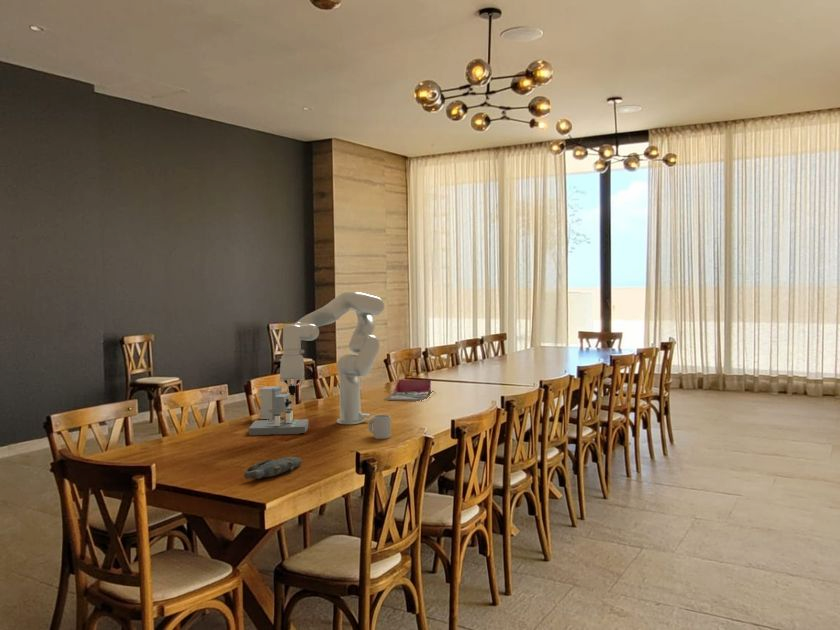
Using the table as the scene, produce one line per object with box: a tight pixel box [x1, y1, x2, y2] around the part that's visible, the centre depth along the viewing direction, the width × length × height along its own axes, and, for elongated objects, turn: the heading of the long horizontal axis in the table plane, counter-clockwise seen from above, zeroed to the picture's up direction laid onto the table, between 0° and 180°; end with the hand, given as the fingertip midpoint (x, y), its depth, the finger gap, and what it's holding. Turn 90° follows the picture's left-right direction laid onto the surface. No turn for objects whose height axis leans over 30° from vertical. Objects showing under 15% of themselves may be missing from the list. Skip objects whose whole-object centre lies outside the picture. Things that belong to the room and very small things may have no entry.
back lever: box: [287, 407, 294, 420], centre depth 317 cm, size 2×3×5 cm
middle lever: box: [284, 410, 291, 423], centre depth 311 cm, size 2×3×5 cm
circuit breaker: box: [258, 385, 292, 420], centre depth 338 cm, size 8×14×15 cm, turn 78°
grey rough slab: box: [243, 456, 303, 480], centre depth 241 cm, size 5×25×15 cm
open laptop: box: [383, 379, 435, 402], centre depth 399 cm, size 24×35×8 cm
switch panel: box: [248, 418, 309, 436], centre depth 311 cm, size 24×17×3 cm
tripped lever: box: [274, 413, 281, 426], centre depth 304 cm, size 2×3×5 cm
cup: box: [368, 414, 392, 440], centre depth 294 cm, size 7×10×9 cm
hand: (292, 394), depth 304 cm, fingers closed
